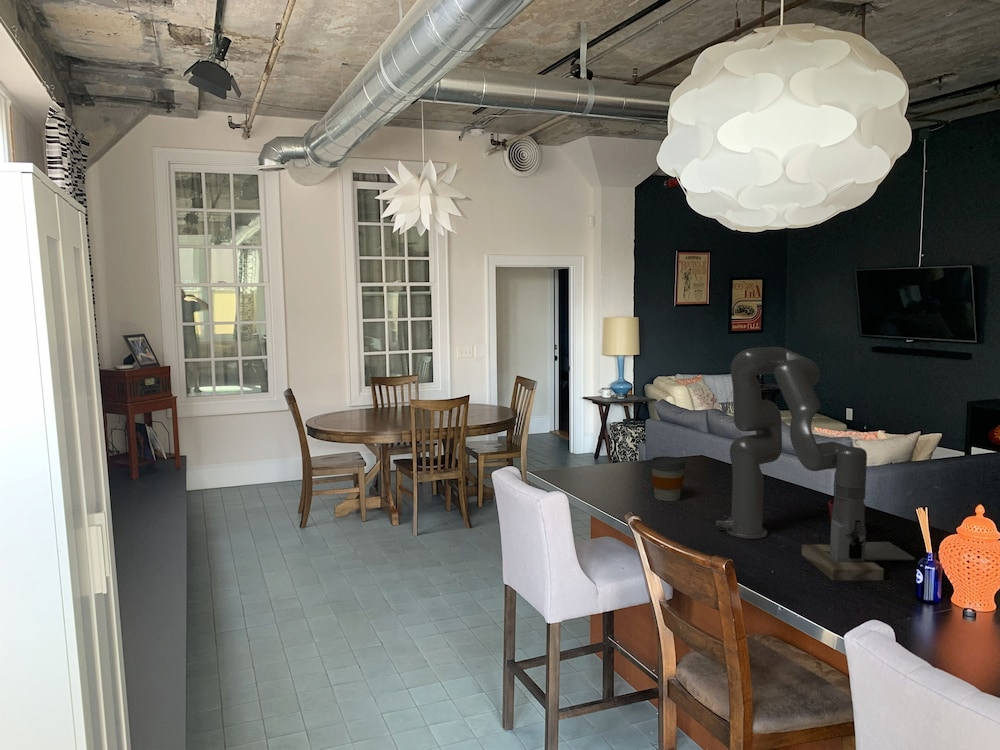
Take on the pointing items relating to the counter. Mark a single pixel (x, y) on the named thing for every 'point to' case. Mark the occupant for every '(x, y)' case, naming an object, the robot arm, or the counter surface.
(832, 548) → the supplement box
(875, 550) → the tile
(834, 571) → the box dock
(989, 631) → the counter surface
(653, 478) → the reusable coffee cup
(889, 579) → the counter surface
